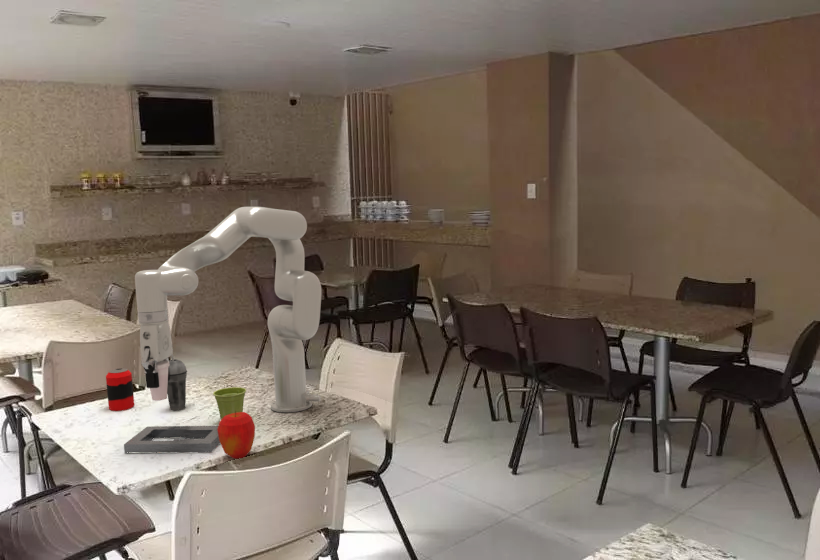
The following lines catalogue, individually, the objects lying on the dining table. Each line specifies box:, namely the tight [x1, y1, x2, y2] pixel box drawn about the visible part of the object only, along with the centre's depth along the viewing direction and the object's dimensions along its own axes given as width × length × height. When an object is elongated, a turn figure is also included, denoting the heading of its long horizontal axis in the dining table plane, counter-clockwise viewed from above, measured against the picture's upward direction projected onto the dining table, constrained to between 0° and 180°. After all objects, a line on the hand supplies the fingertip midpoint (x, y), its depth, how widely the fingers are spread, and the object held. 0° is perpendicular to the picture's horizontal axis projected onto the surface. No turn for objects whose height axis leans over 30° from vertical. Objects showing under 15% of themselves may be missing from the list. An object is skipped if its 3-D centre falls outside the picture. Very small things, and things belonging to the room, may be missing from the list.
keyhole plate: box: [123, 425, 221, 454], centre depth 192 cm, size 23×14×2 cm, turn 86°
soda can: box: [105, 367, 135, 412], centre depth 226 cm, size 8×8×12 cm
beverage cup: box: [167, 354, 188, 412], centre depth 222 cm, size 7×7×20 cm
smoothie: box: [149, 360, 170, 402], centre depth 190 cm, size 6×6×14 cm
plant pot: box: [212, 386, 247, 421], centre depth 209 cm, size 9×9×9 cm
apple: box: [217, 411, 256, 460], centre depth 180 cm, size 9×9×12 cm
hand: (158, 383), depth 190 cm, fingers closed on smoothie, 6 cm apart
